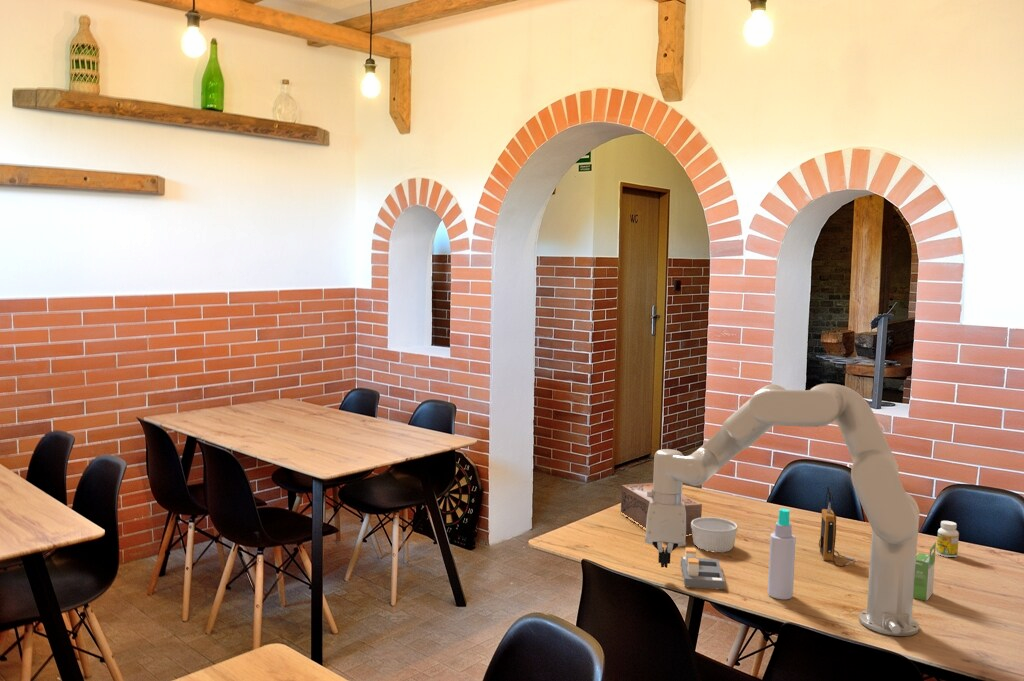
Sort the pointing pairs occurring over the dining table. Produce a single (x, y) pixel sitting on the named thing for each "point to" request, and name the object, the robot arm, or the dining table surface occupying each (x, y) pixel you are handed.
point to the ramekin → (714, 533)
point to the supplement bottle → (947, 539)
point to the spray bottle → (781, 558)
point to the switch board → (704, 574)
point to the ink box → (924, 575)
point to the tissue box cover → (638, 502)
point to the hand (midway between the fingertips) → (664, 565)
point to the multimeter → (829, 533)
